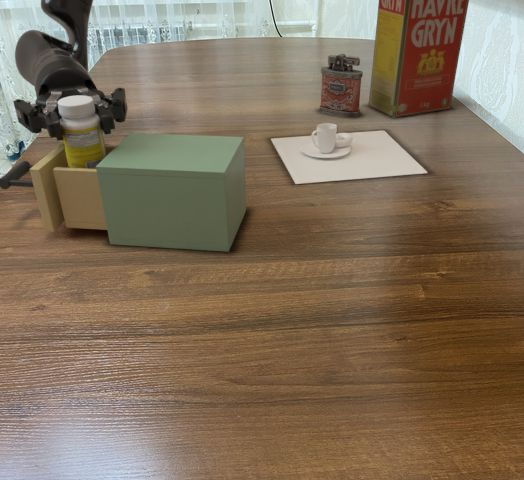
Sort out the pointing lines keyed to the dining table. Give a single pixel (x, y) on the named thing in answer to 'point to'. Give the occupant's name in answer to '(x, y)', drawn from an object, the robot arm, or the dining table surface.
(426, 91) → the food packaging
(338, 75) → the lighter
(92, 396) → the dining table surface
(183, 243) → the cabinet
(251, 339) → the dining table surface
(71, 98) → the supplement bottle
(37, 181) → the drawer
